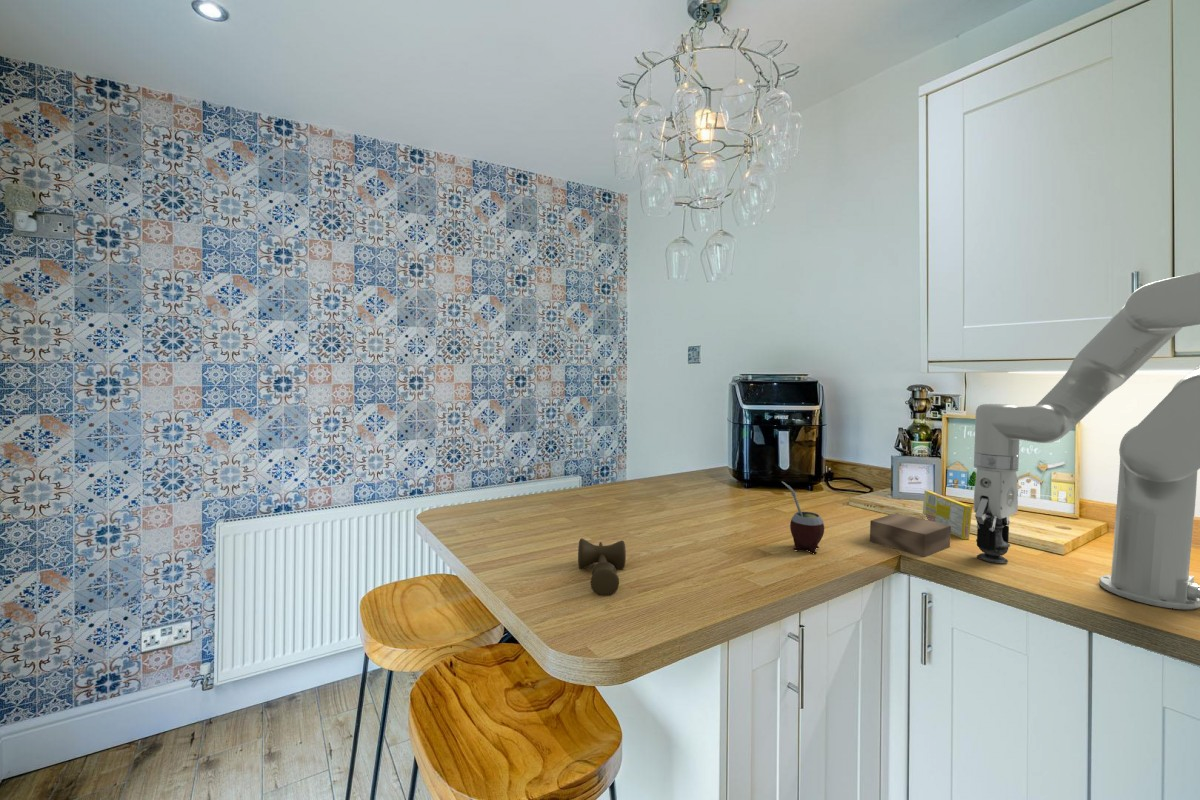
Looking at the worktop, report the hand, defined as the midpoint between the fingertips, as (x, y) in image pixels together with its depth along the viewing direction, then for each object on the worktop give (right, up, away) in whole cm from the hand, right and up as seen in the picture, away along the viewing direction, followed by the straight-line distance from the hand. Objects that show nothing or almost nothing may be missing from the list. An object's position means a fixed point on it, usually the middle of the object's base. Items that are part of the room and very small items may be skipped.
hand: (992, 544), depth 110 cm
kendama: (-84, -4, -9) cm, 84 cm away
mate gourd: (-38, -3, +6) cm, 39 cm away
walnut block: (-12, -3, +9) cm, 16 cm away
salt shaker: (0, -3, 0) cm, 3 cm away
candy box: (+4, -2, +21) cm, 22 cm away
